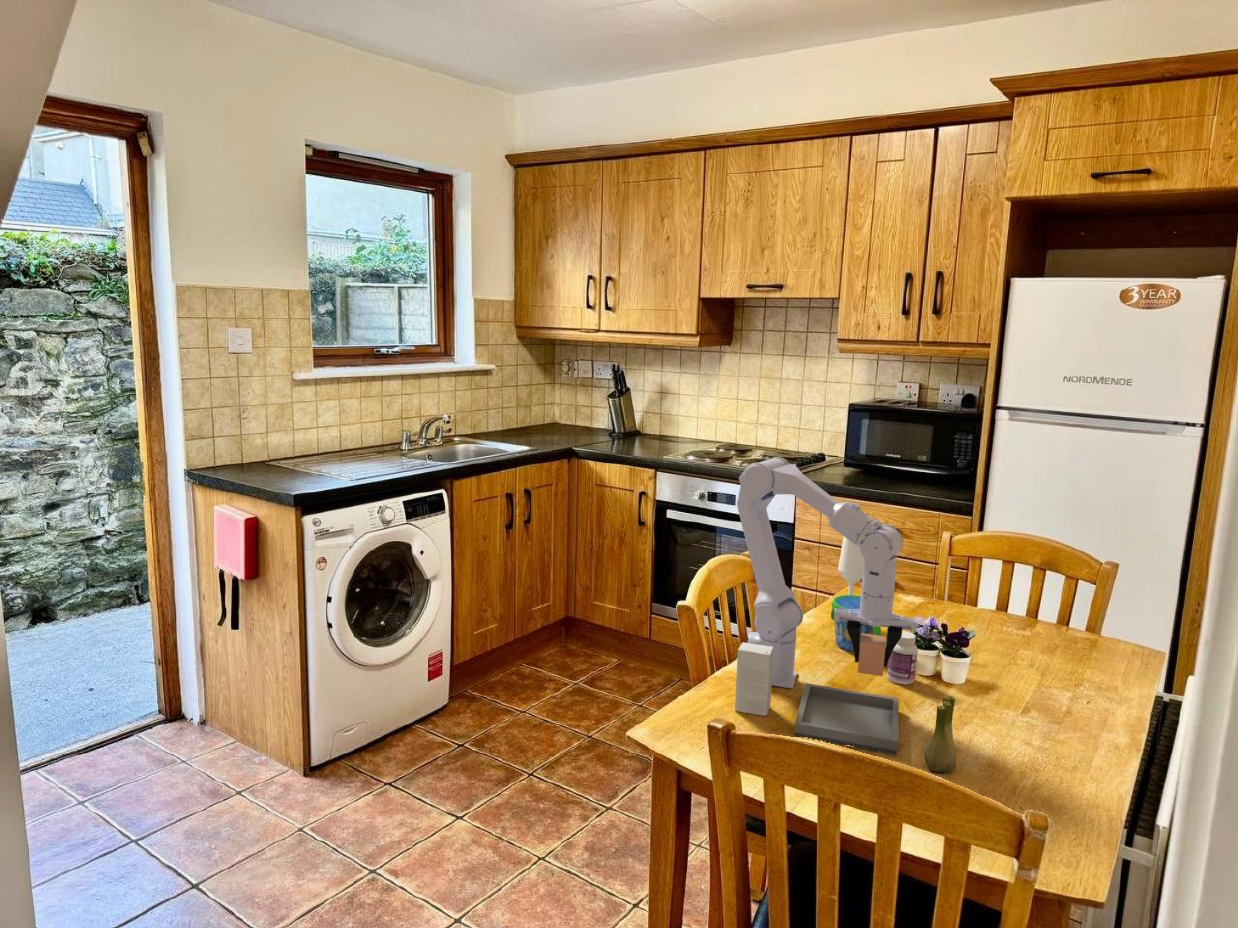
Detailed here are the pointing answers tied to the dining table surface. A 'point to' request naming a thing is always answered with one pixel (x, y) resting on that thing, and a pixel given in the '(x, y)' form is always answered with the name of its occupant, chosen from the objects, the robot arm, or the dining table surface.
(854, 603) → the snack cup
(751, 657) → the skincare box
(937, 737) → the fennel bulb
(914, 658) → the pill bottle
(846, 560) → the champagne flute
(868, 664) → the terracotta block
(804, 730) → the grey bin
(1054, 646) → the dining table surface
